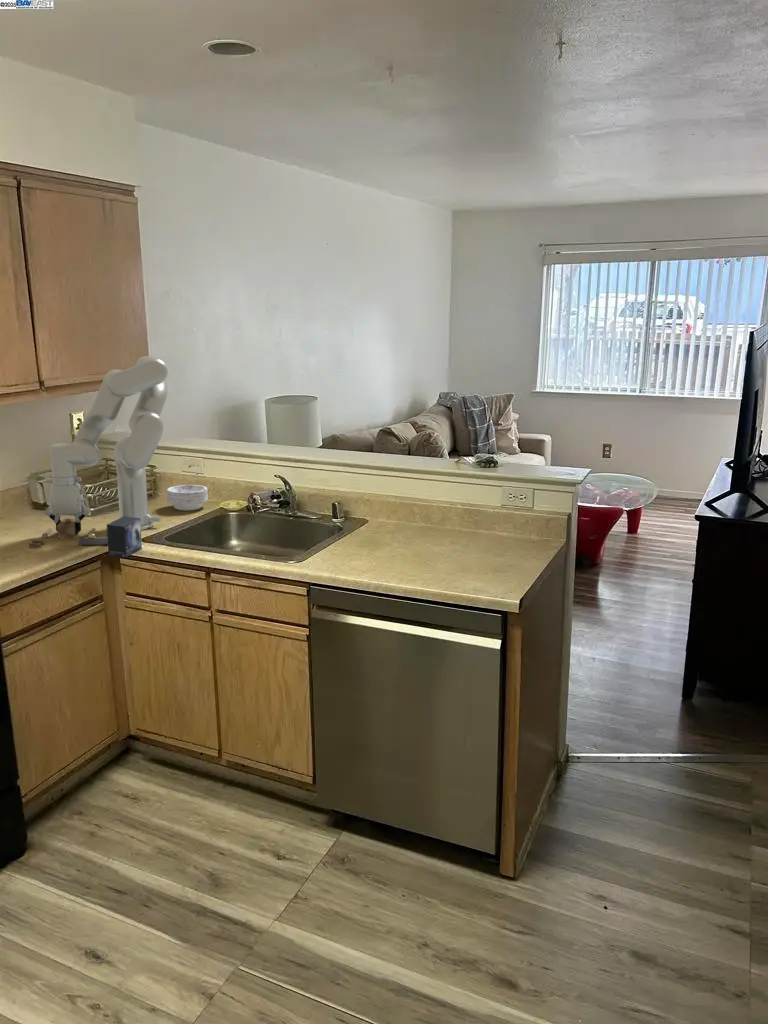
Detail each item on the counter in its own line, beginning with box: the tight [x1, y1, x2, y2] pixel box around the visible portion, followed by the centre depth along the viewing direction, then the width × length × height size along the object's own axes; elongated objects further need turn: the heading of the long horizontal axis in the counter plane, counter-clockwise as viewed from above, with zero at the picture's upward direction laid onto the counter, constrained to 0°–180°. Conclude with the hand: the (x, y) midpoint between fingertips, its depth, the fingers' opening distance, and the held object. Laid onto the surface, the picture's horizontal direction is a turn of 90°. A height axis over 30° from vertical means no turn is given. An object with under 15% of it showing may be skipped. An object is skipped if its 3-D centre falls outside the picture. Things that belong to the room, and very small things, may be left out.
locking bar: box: [78, 533, 108, 546], centre depth 255 cm, size 12×2×3 cm, turn 98°
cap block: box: [56, 517, 78, 539], centre depth 265 cm, size 5×9×5 cm, turn 8°
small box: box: [106, 516, 143, 559], centre depth 247 cm, size 11×6×10 cm, turn 168°
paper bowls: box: [166, 484, 209, 512], centre depth 302 cm, size 15×15×8 cm
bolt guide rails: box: [42, 527, 97, 539], centre depth 265 cm, size 16×7×1 cm, turn 98°
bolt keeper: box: [28, 539, 45, 548], centre depth 253 cm, size 4×4×1 cm
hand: (69, 532), depth 265 cm, fingers closed on cap block, 5 cm apart
